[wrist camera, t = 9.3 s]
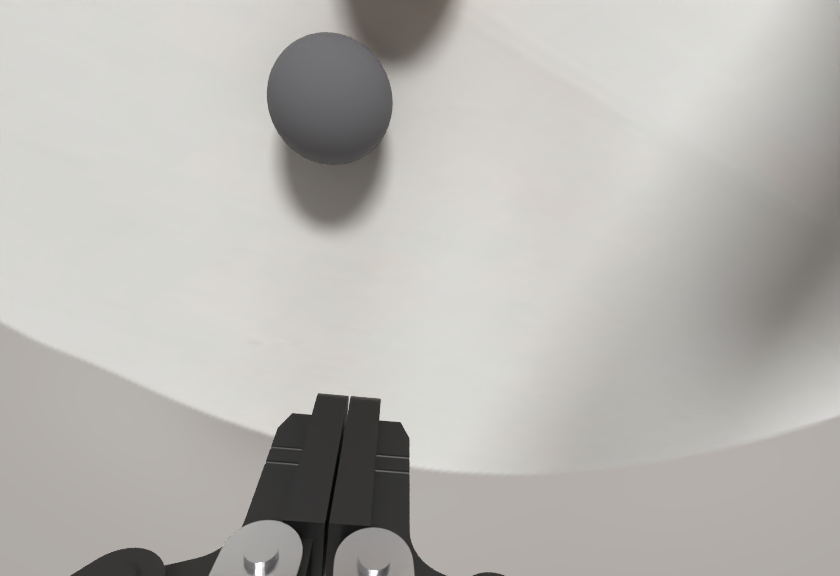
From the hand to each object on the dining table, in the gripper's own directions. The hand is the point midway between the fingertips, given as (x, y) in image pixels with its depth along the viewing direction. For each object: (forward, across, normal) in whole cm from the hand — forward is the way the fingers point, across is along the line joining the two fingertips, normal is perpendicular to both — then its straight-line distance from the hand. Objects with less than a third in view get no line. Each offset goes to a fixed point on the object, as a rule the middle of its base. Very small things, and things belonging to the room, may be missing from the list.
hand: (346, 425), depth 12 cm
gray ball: (+14, +3, -6) cm, 16 cm away
